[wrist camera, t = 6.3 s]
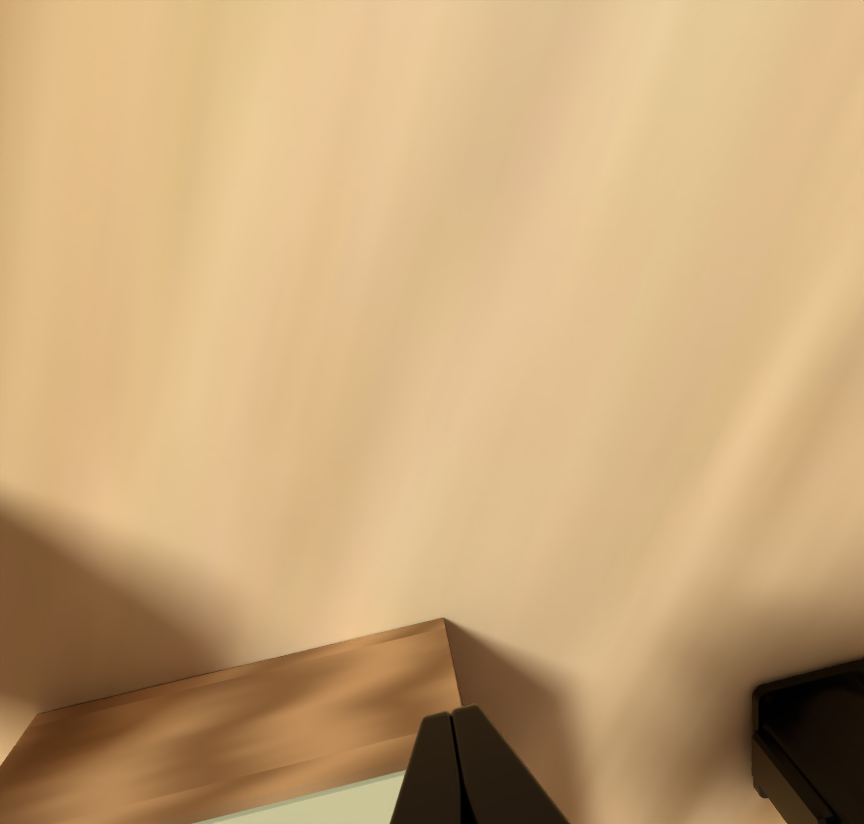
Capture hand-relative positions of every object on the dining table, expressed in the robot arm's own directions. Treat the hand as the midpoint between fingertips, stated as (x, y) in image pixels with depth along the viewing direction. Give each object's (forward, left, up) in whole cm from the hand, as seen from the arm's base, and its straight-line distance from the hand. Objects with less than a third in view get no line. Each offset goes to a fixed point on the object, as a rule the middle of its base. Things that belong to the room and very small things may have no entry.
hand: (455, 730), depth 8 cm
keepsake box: (+8, +12, -12) cm, 19 cm away
